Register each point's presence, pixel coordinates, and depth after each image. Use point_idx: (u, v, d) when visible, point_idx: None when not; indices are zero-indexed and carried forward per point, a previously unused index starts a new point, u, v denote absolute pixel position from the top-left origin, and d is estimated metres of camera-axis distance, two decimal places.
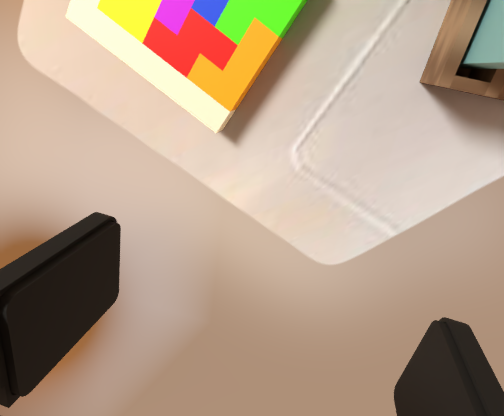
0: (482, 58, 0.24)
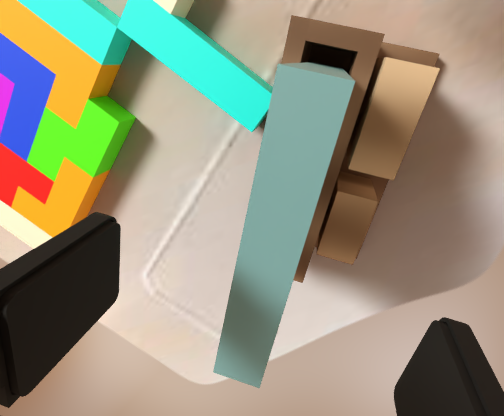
0: None
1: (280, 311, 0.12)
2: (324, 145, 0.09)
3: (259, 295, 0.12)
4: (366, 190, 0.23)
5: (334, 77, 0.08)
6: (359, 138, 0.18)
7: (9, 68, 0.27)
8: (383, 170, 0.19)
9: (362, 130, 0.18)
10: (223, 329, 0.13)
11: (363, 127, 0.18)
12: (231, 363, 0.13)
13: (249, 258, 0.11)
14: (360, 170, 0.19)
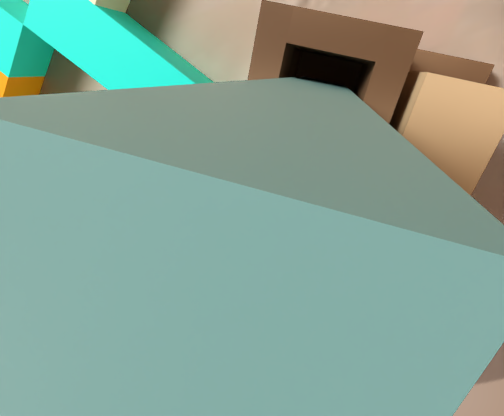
0: None
1: None
2: None
3: None
4: None
5: (360, 225, 0.01)
6: None
7: None
8: None
9: None
10: None
11: None
12: None
13: None
14: None
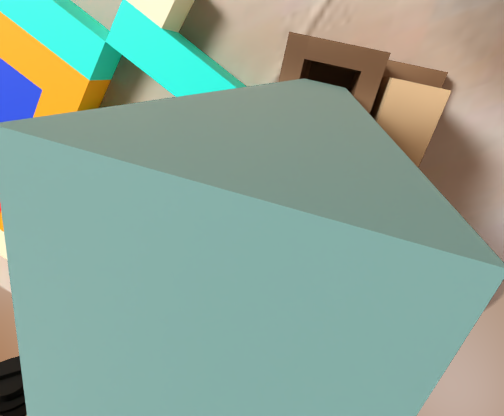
0: None
1: None
2: None
3: None
4: None
5: (352, 232, 0.01)
6: None
7: None
8: None
9: None
10: None
11: None
12: None
13: None
14: None
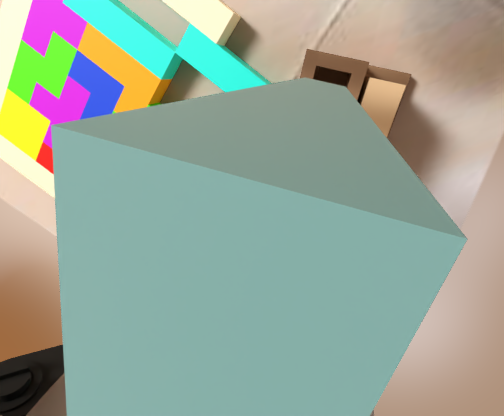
0: None
1: None
2: None
3: None
4: None
5: (344, 210, 0.01)
6: None
7: (87, 81, 0.35)
8: None
9: None
10: None
11: None
12: None
13: None
14: None
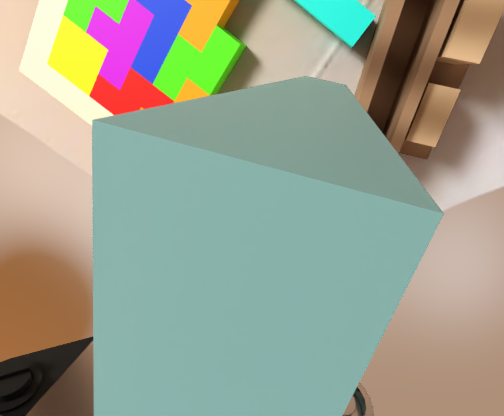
0: None
1: None
2: (302, 408, 0.02)
3: None
4: None
5: (341, 191, 0.02)
6: (455, 30, 0.25)
7: (152, 2, 0.33)
8: (472, 56, 0.25)
9: (458, 24, 0.25)
10: None
11: (459, 21, 0.25)
12: None
13: None
14: (454, 57, 0.26)
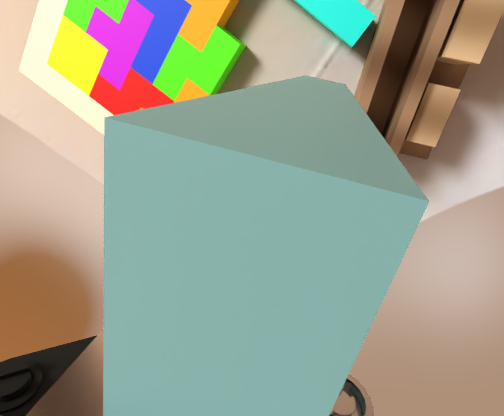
0: None
1: None
2: (300, 387, 0.03)
3: None
4: None
5: (335, 181, 0.02)
6: (455, 30, 0.25)
7: (152, 2, 0.33)
8: (472, 56, 0.25)
9: (458, 24, 0.25)
10: None
11: (459, 21, 0.25)
12: None
13: None
14: (454, 57, 0.26)
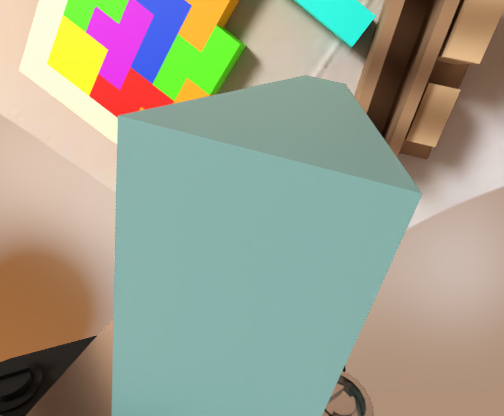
0: None
1: None
2: (301, 373, 0.03)
3: None
4: None
5: (334, 175, 0.02)
6: (455, 30, 0.25)
7: (152, 2, 0.33)
8: (472, 56, 0.25)
9: (458, 24, 0.25)
10: None
11: (459, 21, 0.25)
12: None
13: None
14: (454, 57, 0.26)
